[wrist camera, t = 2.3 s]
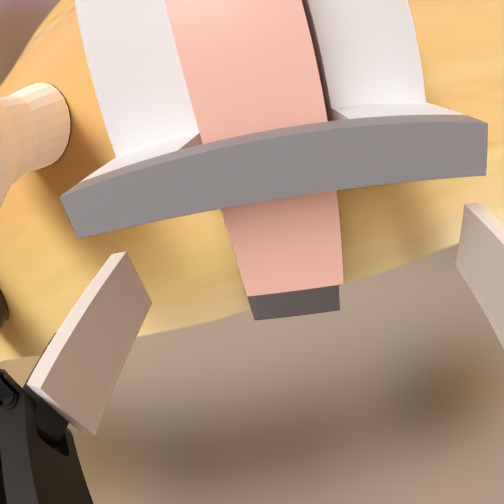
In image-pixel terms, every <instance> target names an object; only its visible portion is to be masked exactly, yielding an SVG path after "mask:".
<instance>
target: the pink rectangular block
mask: <svg viewBox="0 0 504 504" xmlns="http://www.w3.org/2000/svg"><path fill="white" fill-rule="evenodd" d="M164 1H165V5H166V9H167V13H168V17H169V21H170V25H171V29H172V32H173V36H174V40H175V44H176V48H177V52H178V55H179V59H180V63H181V67H182V71H183V74H184V78H185V82H186V85H187V89H188V93H189V97H190V100H191V104H192V108H193V111H194V115H195V118H196V122H197V126H198V129H199V133H200V136H201V140H202V144H206V143H210V142H214V141H219V140H223V139H227V138H232V137H237V136H242V135H246V134H252V133H257V132H262V131H267V130H273V129H279V128H285V127H291V126H298V125H305V124H312V123H319V122H327V121H328V120H327V114H326V108H325V103H324V97H323V92H322V86H321V81H320V76H319V71H318V66H317V62H316V57H315V52H314V48H313V44H312V39H311V35H310V31H309V27H308V23H307V19H306V15H305V11H304V8H303V4H302V0H164ZM221 210H222V213H223V217H224V220H225V224H226V227H227V231H228V234H229V237H230V241H231V244H232V247H233V251H234V254H235V257H236V261H237V264H238V267H239V271H240V274H241V277H242V281H243V284H244V287H245V291H246V294H247V297H248V296H257V295H265V294H273V293H282V292H290V291H297V290H305V289H312V288H320V287H327V286H334V285H341V284H344V283H343V261H342V245H341V231H340V218H339V207H338V197H337V190H336V191H328V192H321V193H314V194H307V195H300V196H294V197H287V198H281V199H275V200H268V201H262V202H256V203H250V204H245V205H239V206H233V207H227V208H222V209H221Z"/></svg>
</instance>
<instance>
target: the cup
mask: <svg viewBox="0 0 504 504" xmlns="http://www.w3.org/2000/svg"><path fill="white" fill-rule="evenodd" d="M69 135H70V115H69V109H68V106H67V104H66V101H65V99H64V97H63V96H62V94H61V93H60V92H59V90H58V89H56V88H55V87H54V86H52V85H50V84H47V83H36V84H33V85H31V86H28V87H26V88H24V89H21V90H19V91H17V92H16V93H14V94H12V95H10V96H7V97H0V207H1V205H2V203H3V201H4V199H5V197H6V195H7V193H8V191H9V189H10V187H11V185H12V184H14V183H15V182H16V181H17V180H18V179H19V178H20V177H21V176H23V175H24V174H26V173H29V172H32V171H35V170H38V169H41V168H44V167H46V166H49V165H51V164H53V163H54V162H55V161H57V160H58V159H59V158H60V157H61V155H62V154H63V153H64V150H65V148H66V146H67V144H68V140H69Z"/></svg>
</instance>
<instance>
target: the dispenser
mask: <svg viewBox="0 0 504 504" xmlns="http://www.w3.org/2000/svg"><path fill="white" fill-rule="evenodd" d="M74 1H75V7H76V12H77V17H78V23H79V27H80V32H81V37H82V41H83V46H84V50H85V54H86V58H87V63H88V67H89V70H90V74H91V78H92V82H93V85H94V89H95V93H96V96H97V100H98V103H99V106H100V110H101V113H102V116H103V119H104V123H105V126H106V129H107V132H108V135H109V138H110V141H111V144H112V147H113V150H114V153H115V156H116V158H115V159H113V160H111V161H110V162H108V163H107V164H105V165H104V166H102V167H101V168H99V169H98V170H96V171H95V172H93V173H92V174H90V175H89V176H88V177H86V178H85V179H83V180H82V181H80V182H79V183H78V184H76V185H75V186H73V187H72V188H71V189H69V190H68V191H67V192H65V193H64V194H63V195H61V196H60V197H59V198H60V200H61V203H62V205H63V207H64V209H65V212H66V214H67V216H68V218H69V220H70V223H71V225H72V227H73V229H74V231H75V233H76V235H77V237H78V239H81V238H85V237H89V236H93V235H97V234H101V233H106V232H110V231H114V230H119V229H123V228H128V227H132V226H137V225H141V224H146V223H151V222H155V221H160V220H165V219H170V218H175V217H180V216H185V215H190V214H195V213H200V212H206V211H211V210H216V209H222V208H227V207H233V206H239V205H245V204H250V203H256V202H262V201H268V200H275V199H281V198H287V197H294V196H300V195H307V194H314V193H321V192H328V191H336V190H343V189H351V188H359V187H367V186H375V185H384V184H393V183H402V182H412V181H422V180H433V179H445V178H457V177H471V176H486V166H487V140H488V123H486V122H483V121H481V120H478V119H476V118H473V117H470V116H467V115H464V114H461V113H459V112H456V111H453V110H449V109H446V108H443V107H440V106H436V105H433V104H430V103H426V99H425V89H424V81H423V74H422V67H421V60H420V54H419V49H418V43H417V38H416V33H415V28H414V24H413V20H412V15H411V11H410V7H409V4H408V0H302V4H303V8H304V11H305V15H306V19H307V23H308V27H309V31H310V35H311V39H312V44H313V48H314V52H315V57H316V62H317V66H318V71H319V76H320V81H321V86H322V92H323V97H324V103H325V108H326V114H327V120H328V121H327V122H319V123H312V124H305V125H298V126H291V127H285V128H279V129H273V130H267V131H262V132H257V133H252V134H246V135H242V136H237V137H232V138H227V139H223V140H219V141H214V142H210V143H206V144H202V140H201V136H200V133H199V129H198V126H197V122H196V118H195V115H194V111H193V108H192V104H191V100H190V97H189V93H188V89H187V85H186V82H185V78H184V74H183V71H182V67H181V63H180V59H179V55H178V52H177V48H176V44H175V40H174V36H173V32H172V29H171V25H170V21H169V17H168V13H167V9H166V5H165V1H164V0H74Z"/></svg>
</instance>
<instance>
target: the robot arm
mask: <svg viewBox="0 0 504 504" xmlns="http://www.w3.org/2000/svg"><path fill="white" fill-rule="evenodd" d="M455 266H456V267H457V269H458V270H459V272H460V273H461V275H462V276H463V278H464V279H465V281H466V283H467V284H468V286H469V287H470V289H471V291H472V292H473V294H474V295H475V297H476V299H477V300H478V302H479V304H480V306H481V307H482V309H483V311H484V313H485V314H486V316H487V318H488V320H489V322H490V324H491V325H492V327H493V329H494V331H495V333H496V335H497V337H498V339H499V341H500V343H501V345H502V347H503V349H504V225H503V224H502V223H501V222H500V221H499V220H498V219H496V218H495V217H494V216H493V215H492V214H491V213H490V212H489V211H488V210H487V209H486V208H485V207H484V206H482V205H481V204H480V203H473V204H464V213H463V221H462V228H461V235H460V241H459V247H458V253H457V258H456V263H455ZM151 304H152V301H151V299H150V297H149V295H148V294H147V292H146V290H145V288H144V286H143V284H142V282H141V280H140V278H139V276H138V274H137V272H136V270H135V268H134V266H133V264H132V262H131V260H130V258H129V256H128V254H127V251H126V252H120V253H114V254H112V255H111V256H110V257H109V259H108V260H107V261H106V262H105V264H104V265H103V266H102V268H101V269H100V270H99V272H98V273H97V274H96V276H95V277H94V279H93V280H92V281H91V283H90V284H89V285H88V287H87V288H86V290H85V291H84V292H83V294H82V295H81V297H80V298H79V300H78V301H77V302H76V304H75V305H74V307H73V308H72V310H71V311H70V313H69V314H68V316H67V317H66V319H65V320H64V322H63V323H62V325H61V326H60V328H59V330H58V331H57V332H56V333H55V334H54V336H53V337H52V339H51V340H50V342H49V344H48V347H46V349H45V350H44V352H43V355H41V357H40V359H39V361H38V362H37V364H36V366H35V367H34V369H33V371H32V372H31V374H30V376H29V378H28V380H27V381H26V383H25V385H24V386H23V388H21V387H20V386H19V385H18V384H17V383H16V382H15V381H14V380H13V378H12V377H11V376H10V375H9V374H8V373H7V372H6V371H5V370H3V369H0V504H93V501H92V498H91V496H90V493H89V490H88V487H87V484H86V481H85V478H84V475H83V472H82V469H81V465H80V462H79V458H78V455H77V451H76V447H75V444H74V440H73V436H72V433H71V431H70V430H69V429H68V428H67V426H68V423H71V424H72V425H73V426H74V427H75V428H77V429H78V430H79V431H82V432H86V433H89V434H92V435H96V432H97V429H98V427H99V424H100V422H101V419H102V416H103V414H104V411H105V409H106V406H107V404H108V401H109V399H110V396H111V394H112V391H113V389H114V387H115V384H116V382H117V379H118V377H119V375H120V372H121V370H122V368H123V365H124V363H125V361H126V359H127V356H128V354H129V352H130V350H131V347H132V345H133V343H134V340H135V338H136V336H137V334H138V332H139V330H140V328H141V325H142V323H143V321H144V319H145V317H146V315H147V313H148V311H149V308H150V306H151ZM7 319H8V309H7V306H6V303H5V300H4V298H3V296H2V294H1V292H0V329H1V328H2V326H3V325H4V323H5V322H6V321H7Z"/></svg>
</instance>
